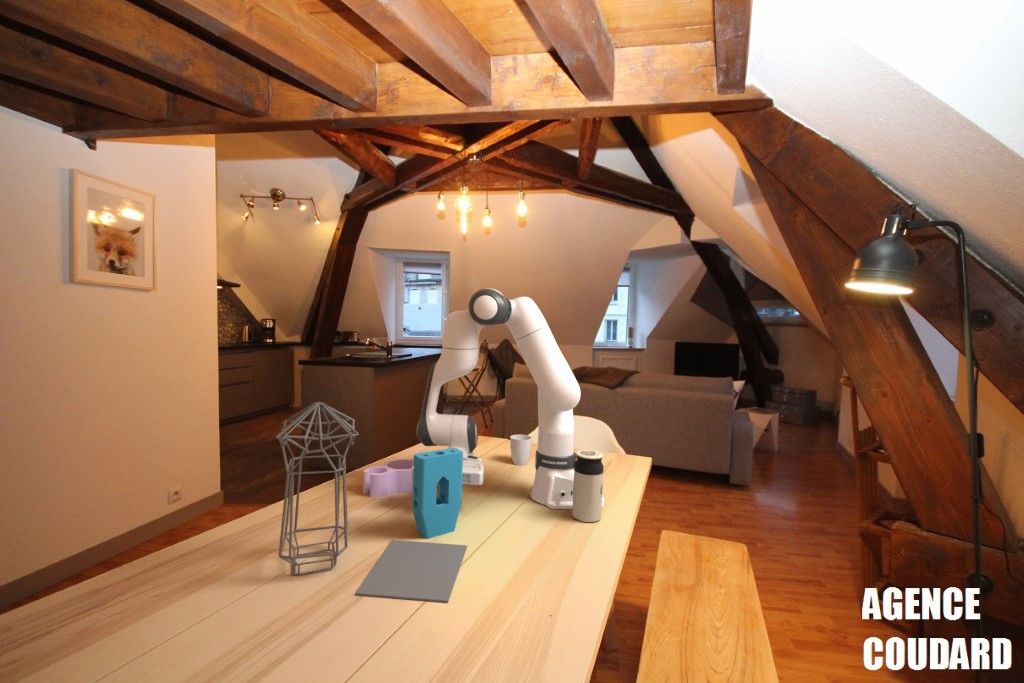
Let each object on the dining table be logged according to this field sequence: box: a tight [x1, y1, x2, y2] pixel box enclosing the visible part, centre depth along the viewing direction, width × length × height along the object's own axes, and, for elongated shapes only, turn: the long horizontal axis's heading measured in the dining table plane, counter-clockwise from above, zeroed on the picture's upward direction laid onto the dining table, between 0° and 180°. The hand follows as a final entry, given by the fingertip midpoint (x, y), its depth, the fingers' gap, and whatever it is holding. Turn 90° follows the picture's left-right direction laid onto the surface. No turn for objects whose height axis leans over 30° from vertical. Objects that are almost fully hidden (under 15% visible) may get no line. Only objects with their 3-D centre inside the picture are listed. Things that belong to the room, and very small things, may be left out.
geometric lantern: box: [275, 401, 360, 577], centre depth 101 cm, size 16×16×35 cm
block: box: [411, 447, 463, 539], centre depth 118 cm, size 12×5×20 cm, turn 127°
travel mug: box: [571, 449, 604, 523], centre depth 131 cm, size 8×8×18 cm
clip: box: [362, 456, 414, 499], centre depth 148 cm, size 20×12×7 cm, turn 138°
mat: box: [355, 539, 468, 604], centre depth 101 cm, size 18×22×1 cm
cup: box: [509, 434, 533, 466], centre depth 177 cm, size 8×8×10 cm
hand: (442, 482), depth 124 cm, fingers closed
